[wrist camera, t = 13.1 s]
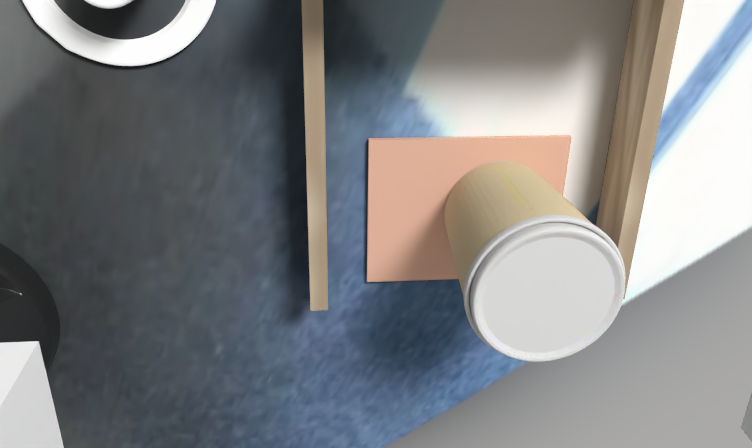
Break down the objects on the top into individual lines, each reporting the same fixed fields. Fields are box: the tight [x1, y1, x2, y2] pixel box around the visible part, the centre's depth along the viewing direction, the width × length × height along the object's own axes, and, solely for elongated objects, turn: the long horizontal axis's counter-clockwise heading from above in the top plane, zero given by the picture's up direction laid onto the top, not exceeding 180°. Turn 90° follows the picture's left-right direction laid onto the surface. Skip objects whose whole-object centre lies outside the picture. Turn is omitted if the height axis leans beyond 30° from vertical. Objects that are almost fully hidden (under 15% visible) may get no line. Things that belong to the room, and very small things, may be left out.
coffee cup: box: [445, 161, 625, 362], centre depth 44 cm, size 9×9×12 cm
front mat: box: [367, 135, 571, 282], centre depth 50 cm, size 14×11×1 cm
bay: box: [302, 0, 684, 311], centre depth 43 cm, size 22×24×10 cm
